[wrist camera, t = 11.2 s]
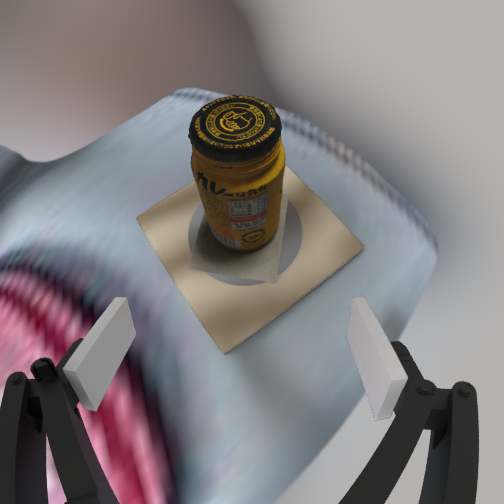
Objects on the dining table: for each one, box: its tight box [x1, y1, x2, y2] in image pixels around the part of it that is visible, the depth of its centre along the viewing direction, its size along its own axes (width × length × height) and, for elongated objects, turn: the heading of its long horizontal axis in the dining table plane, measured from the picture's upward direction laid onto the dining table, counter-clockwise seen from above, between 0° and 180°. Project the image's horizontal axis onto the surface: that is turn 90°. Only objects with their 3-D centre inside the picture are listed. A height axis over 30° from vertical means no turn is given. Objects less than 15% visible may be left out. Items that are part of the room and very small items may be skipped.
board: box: [136, 165, 364, 354], centre depth 27 cm, size 15×15×1 cm
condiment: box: [188, 95, 289, 283], centre depth 21 cm, size 7×8×12 cm
